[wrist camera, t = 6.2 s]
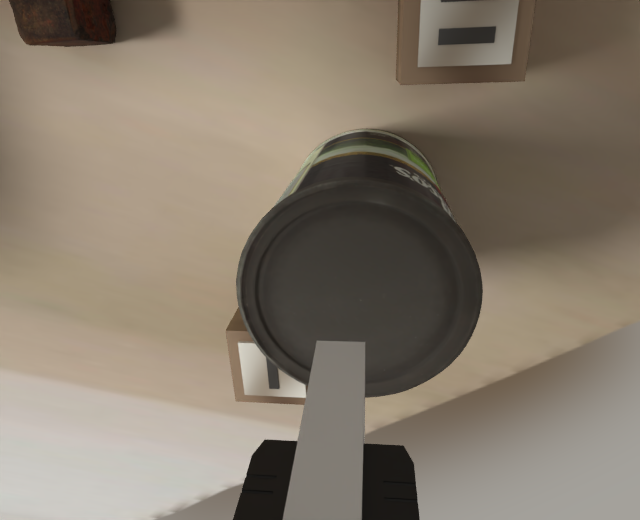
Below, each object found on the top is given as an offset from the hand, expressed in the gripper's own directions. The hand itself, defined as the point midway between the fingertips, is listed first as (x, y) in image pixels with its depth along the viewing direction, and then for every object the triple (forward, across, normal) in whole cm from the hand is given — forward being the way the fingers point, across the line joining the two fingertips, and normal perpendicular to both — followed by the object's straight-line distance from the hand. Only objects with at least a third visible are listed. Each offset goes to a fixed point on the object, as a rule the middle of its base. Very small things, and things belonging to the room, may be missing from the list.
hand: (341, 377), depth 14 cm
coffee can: (+19, 0, 0) cm, 19 cm away
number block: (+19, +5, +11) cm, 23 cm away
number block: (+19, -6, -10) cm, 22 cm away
